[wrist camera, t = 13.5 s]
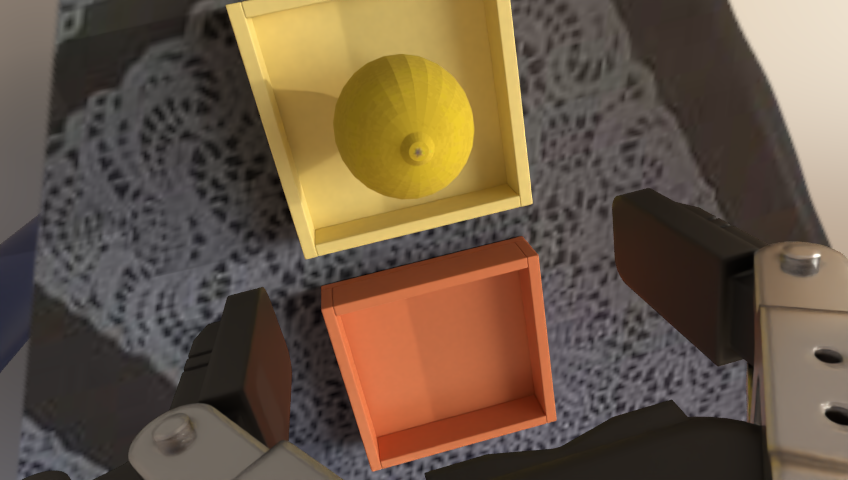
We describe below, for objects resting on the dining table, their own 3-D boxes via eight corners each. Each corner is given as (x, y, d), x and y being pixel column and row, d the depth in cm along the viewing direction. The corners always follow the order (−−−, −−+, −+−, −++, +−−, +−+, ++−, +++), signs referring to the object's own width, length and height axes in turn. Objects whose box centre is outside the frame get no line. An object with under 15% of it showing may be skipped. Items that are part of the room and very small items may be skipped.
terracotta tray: (368, 440, 34) (371, 472, 32) (320, 285, 30) (320, 309, 27) (541, 393, 35) (557, 420, 33) (522, 235, 30) (538, 254, 28)
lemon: (336, 38, 24) (343, 56, 17) (458, 55, 26) (513, 78, 18) (326, 160, 26) (329, 222, 19) (440, 171, 28) (483, 233, 20)
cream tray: (306, 238, 28) (305, 259, 26) (234, 4, 24) (225, 5, 21) (516, 188, 29) (533, 204, 27) (487, -49, 24) (504, -53, 22)
